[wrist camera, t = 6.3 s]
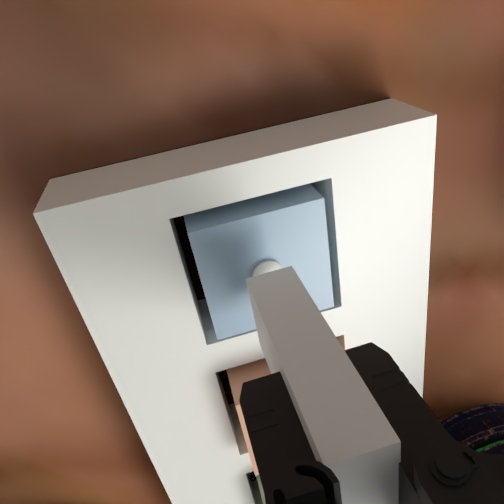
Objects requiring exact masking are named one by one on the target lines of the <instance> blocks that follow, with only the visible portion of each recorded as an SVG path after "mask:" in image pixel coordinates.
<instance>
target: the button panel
mask: <svg viewBox="0 0 504 504" xmlns="http://www.w3.org/2000/svg"><path fill="white" fill-rule="evenodd" d="M436 122H437V115H436V114H433V113H431V112H428V111H425V110H422V109H420V108H417V107H414V106H411V105H409V104H406V103H403V102H400V101H398V100H395V99H392V98H390V99H386V100H382V101H378V102H373V103H369V104H365V105H361V106H357V107H352V108H348V109H344V110H340V111H335V112H331V113H327V114H323V115H319V116H314V117H310V118H306V119H302V120H297V121H293V122H289V123H285V124H281V125H276V126H272V127H268V128H264V129H260V130H255V131H251V132H247V133H243V134H238V135H234V136H230V137H226V138H222V139H217V140H213V141H209V142H205V143H200V144H196V145H192V146H188V147H184V148H179V149H175V150H171V151H167V152H163V153H158V154H154V155H150V156H146V157H141V158H137V159H133V160H129V161H125V162H120V163H116V164H112V165H108V166H103V167H99V168H95V169H91V170H87V171H82V172H78V173H74V174H70V175H65V176H61V177H57V178H53V179H50V180H49V182H48V184H47V186H46V188H45V190H44V192H43V194H42V196H41V198H40V200H39V202H38V204H37V206H36V208H35V210H34V212H33V215H34V217H35V220H36V222H37V224H38V226H39V228H40V230H41V232H42V234H43V236H44V238H45V240H46V242H47V245H48V247H49V249H50V251H51V253H52V255H53V257H54V259H55V261H56V263H57V265H58V267H59V270H60V272H61V274H62V276H63V278H64V280H65V282H66V284H67V286H68V288H69V290H70V292H71V294H72V297H73V299H74V301H75V303H76V305H77V307H78V309H79V311H80V313H81V315H82V317H83V319H84V322H85V324H86V326H87V328H88V330H89V332H90V334H91V336H92V338H93V340H94V342H95V344H96V346H97V349H98V351H99V353H100V355H101V357H102V359H103V361H104V363H105V365H106V367H107V369H108V371H109V374H110V376H111V378H112V380H113V382H114V384H115V386H116V388H117V390H118V392H119V394H120V396H121V399H122V401H123V403H124V405H125V407H126V409H127V411H128V413H129V415H130V417H131V419H132V421H133V423H134V426H135V428H136V430H137V432H138V434H139V436H140V438H141V440H142V442H143V444H144V446H145V448H146V451H147V453H148V455H149V457H150V459H151V461H152V463H153V465H154V467H155V469H156V471H157V473H158V476H159V478H160V480H161V482H162V484H163V486H164V488H165V490H166V492H167V494H168V496H169V498H170V500H171V503H172V504H263V501H262V497H261V493H260V489H259V486H258V482H257V480H254V481H251V480H250V476H249V473H250V472H253V471H254V470H253V466H252V463H251V459H250V456H249V452H248V449H247V445H246V442H245V438H244V435H243V431H242V428H241V424H240V421H239V417H238V413H237V410H236V406H235V403H234V404H231V405H228V402H227V398H226V395H225V391H224V388H223V385H222V381H221V378H220V374H219V371H223V370H226V369H229V368H233V367H236V366H239V365H243V364H246V363H250V362H253V361H256V360H260V359H263V358H265V356H264V354H263V351H262V348H261V346H260V342H259V338H258V333H257V329H255V330H251V331H248V332H244V333H241V334H237V335H234V336H231V337H227V338H224V339H220V340H217V336H216V333H215V329H214V326H213V322H212V319H211V315H210V312H209V308H208V304H207V301H206V298H205V299H201V300H197V297H196V293H195V290H194V286H193V283H192V280H191V276H190V273H189V269H188V266H187V263H186V259H185V256H184V252H183V249H182V246H181V242H180V239H179V236H178V232H177V229H176V225H175V222H174V219H173V218H175V217H179V216H183V215H187V214H191V213H195V212H199V211H203V210H207V209H211V208H215V207H219V206H222V205H226V204H230V203H234V202H238V201H242V200H246V199H250V198H254V197H258V196H262V195H266V194H270V193H274V192H278V191H281V190H285V189H289V188H293V187H297V186H301V185H305V184H309V183H310V184H311V185H312V186H313V187H314V188H315V189H316V190H317V191H318V192H319V193H320V194H321V195H322V196H323V197H324V200H325V211H326V222H327V233H328V244H329V255H330V266H331V277H332V288H333V299H334V307H331V308H328V309H324V310H321V311H320V312H321V314H322V315H323V317H324V319H325V320H326V322H327V323H328V325H329V327H330V328H331V330H332V331H333V333H334V335H335V336H336V338H337V339H338V341H339V343H340V344H341V346H342V348H343V349H344V350H347V349H350V348H354V347H357V346H360V345H363V344H367V343H370V342H372V343H374V344H375V345H377V346H378V347H380V348H382V349H383V350H385V351H386V352H388V353H389V354H390V356H391V357H392V358H393V360H394V361H395V362H396V364H397V365H398V366H399V368H400V370H401V371H402V372H403V373H404V374H405V376H406V377H407V378H408V380H409V382H410V384H412V385H413V386H414V388H415V389H416V390H417V392H418V393H419V394H420V396H421V397H422V398H423V378H424V359H425V339H426V319H427V300H428V280H429V260H430V241H431V221H432V201H433V181H434V162H435V142H436Z"/></svg>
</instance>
